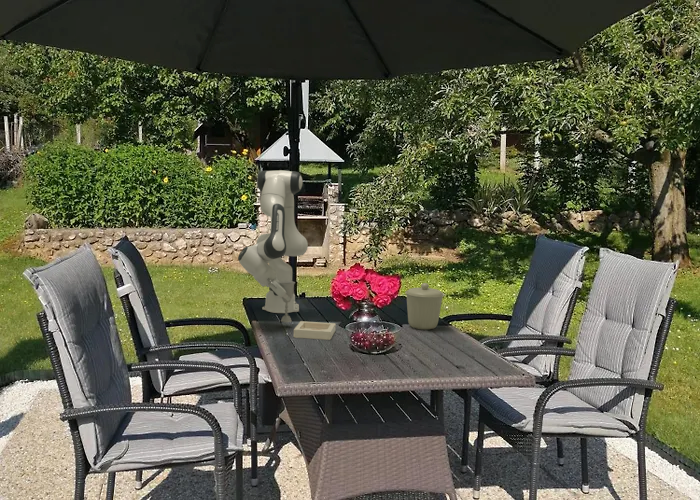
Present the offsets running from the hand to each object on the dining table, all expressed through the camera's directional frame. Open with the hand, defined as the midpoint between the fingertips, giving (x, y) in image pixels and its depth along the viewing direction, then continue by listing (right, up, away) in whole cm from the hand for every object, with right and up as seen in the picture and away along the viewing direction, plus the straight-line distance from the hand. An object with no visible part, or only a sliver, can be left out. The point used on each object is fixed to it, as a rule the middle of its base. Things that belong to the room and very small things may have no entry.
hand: (288, 298), depth 311 cm
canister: (+62, -15, +11) cm, 65 cm away
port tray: (+13, -15, -9) cm, 22 cm away
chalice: (-1, -11, +1) cm, 11 cm away
